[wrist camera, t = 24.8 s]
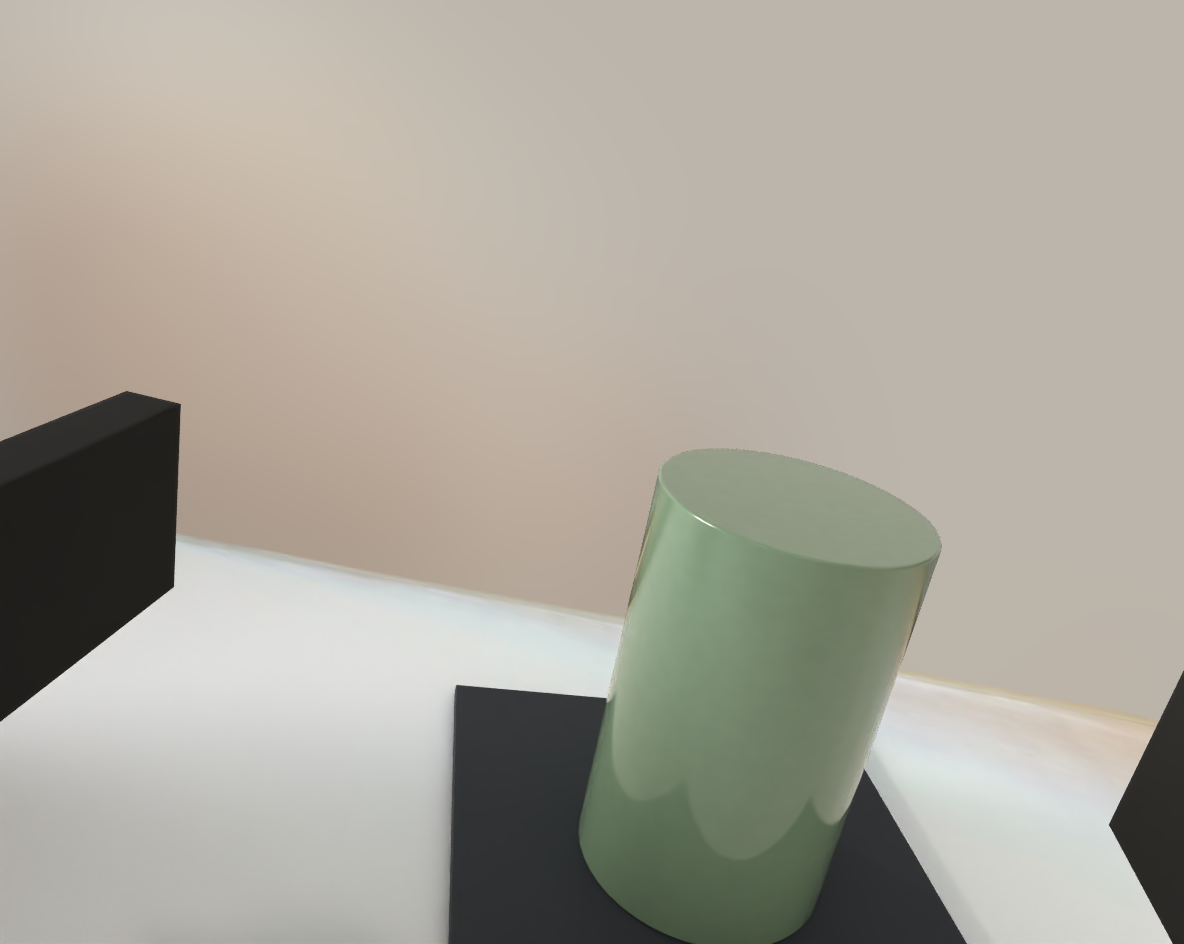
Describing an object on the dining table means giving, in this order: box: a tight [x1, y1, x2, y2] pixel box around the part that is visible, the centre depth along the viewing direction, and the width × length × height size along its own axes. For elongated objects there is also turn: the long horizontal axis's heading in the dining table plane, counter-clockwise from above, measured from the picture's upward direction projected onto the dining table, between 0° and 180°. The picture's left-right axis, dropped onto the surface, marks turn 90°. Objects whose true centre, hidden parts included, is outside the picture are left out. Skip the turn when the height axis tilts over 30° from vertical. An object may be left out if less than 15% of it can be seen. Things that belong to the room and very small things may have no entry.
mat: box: [448, 685, 967, 944], centre depth 27 cm, size 14×14×1 cm
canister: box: [578, 449, 942, 944], centre depth 25 cm, size 7×7×11 cm
